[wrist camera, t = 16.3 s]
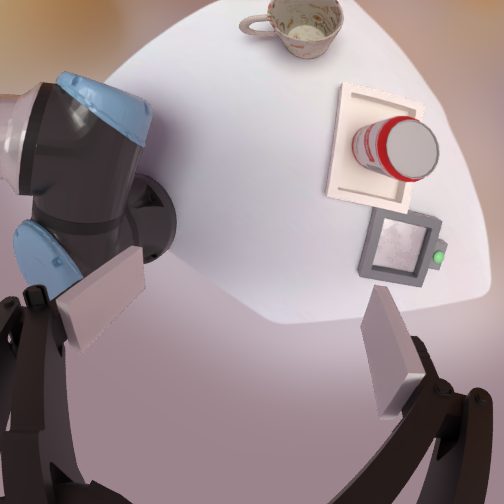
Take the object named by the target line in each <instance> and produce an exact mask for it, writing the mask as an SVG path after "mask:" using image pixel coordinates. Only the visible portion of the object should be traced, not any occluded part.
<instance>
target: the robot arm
mask: <svg viewBox="0 0 504 504" xmlns="http://www.w3.org/2000/svg"><path fill="white" fill-rule="evenodd" d="M56 82H57V84H52V83H44V82H40V83H39V84H37V85H36V86H35V87H33V88H32V89H31V90H29V91H28V92H27V93H25V94H23V95H9V94H0V179H5V180H6V181H7V182H8V183H9V184H10V186H11V187H12V189H13V190H14V192H15V193H16V194H17V195H30V196H33V207H32V217H31V219H30V220H28V219H27V220H25V221H23V222H22V223H21V224H20V225H19V226H18V228H17V229H16V230H15V233H14V238H13V246H14V253H15V257H16V260H17V263H18V266H19V269H20V271H21V273H22V275H23V277H24V279H25V280H26V282H27V284H28V285H29V287H28V288H26V289H25V290H24V291H23V296H24V300H25V303H26V306H27V307H24V306H21V304H20V301H19V299H18V298H17V297H14V296H13V297H10V296H9V297H6V298H5V299H4V300H2V301H1V302H0V453H1V461H2V476H3V486H4V494H5V496H4V497H0V504H132V503H131V502H130V501H128V500H127V499H126V498H124V497H123V496H122V495H120V494H118V493H116V492H114V491H112V490H110V489H108V488H106V487H104V486H103V485H101V484H99V483H97V482H95V481H93V480H92V481H91V483H90V484H85V481H84V479H83V477H82V475H81V473H80V471H79V469H78V467H77V463H76V458H75V453H74V448H73V442H72V435H71V429H70V421H69V412H68V403H67V390H66V367H65V346H64V342H65V341H66V340H67V339H68V341H69V344H70V347H71V348H72V349H74V350H76V351H78V352H80V353H83V352H84V351H85V350H86V349H87V348H88V347H89V345H91V344H92V343H93V341H94V340H95V339H96V338H97V337H98V336H99V335H100V334H101V333H102V332H103V331H104V330H105V329H106V328H107V327H108V326H109V325H110V324H111V323H112V321H114V319H116V318H117V316H118V315H119V314H120V313H121V312H122V311H123V310H124V309H125V308H126V307H127V306H128V305H129V304H130V303H131V302H132V301H133V300H134V299H135V298H136V297H137V296H138V295H139V294H140V293H141V292H142V291H143V290H144V289H145V279H144V267H143V264H146V263H149V262H152V261H154V260H156V259H157V258H158V257H159V256H161V255H162V254H163V253H165V252H166V251H167V250H168V248H169V247H170V245H171V244H172V242H173V239H174V236H175V232H176V214H175V210H174V206H173V203H172V201H171V199H170V197H169V195H168V194H167V192H166V191H165V190H164V188H163V187H162V186H161V185H160V184H159V183H158V182H156V181H155V180H153V179H152V178H150V177H147V176H144V175H140V174H135V172H136V169H137V166H138V162H139V159H140V156H141V154H142V151H143V148H145V146H146V142H145V141H146V137H147V134H148V130H149V127H150V124H151V121H152V117H153V111H152V108H151V106H150V104H149V103H148V102H147V101H146V100H144V99H142V98H139V97H137V96H134V95H132V94H129V93H127V92H124V91H122V90H119V89H116V88H114V87H111V86H108V85H106V84H103V83H100V82H97V81H94V80H91V79H89V78H85V77H82V76H79V75H76V74H73V73H70V72H67V71H64V72H62V73H61V74H60V76H59V77H57V79H56ZM361 331H362V335H363V340H364V344H365V348H366V353H367V357H368V362H369V367H370V372H371V377H372V382H373V387H374V393H375V399H376V404H377V411H378V417H379V419H395V418H396V417H397V415H398V414H399V413H400V411H402V415H403V419H402V420H401V421H400V422H399V424H398V425H397V426H396V428H395V429H394V430H393V431H392V433H391V435H390V436H389V437H388V439H387V440H386V441H385V442H384V444H383V445H382V446H381V448H380V449H379V450H378V451H377V452H376V453H375V455H374V456H373V457H372V458H371V460H370V461H369V462H368V463H367V464H366V465H365V466H364V468H363V469H362V470H361V471H360V472H359V473H358V474H357V475H356V476H355V477H354V478H353V479H352V480H351V482H349V483H348V484H347V485H346V486H345V487H344V489H342V490H341V491H340V492H339V493H338V494H337V495H336V496H335V497H334V498H333V499H332V500H331V501H330V502H329V503H328V504H392V502H393V501H394V500H395V498H396V497H397V496H398V494H399V493H400V492H401V490H402V489H403V488H404V486H405V485H406V483H407V482H408V480H409V479H410V477H411V476H412V474H413V473H414V471H415V470H416V468H417V467H418V465H419V463H420V461H421V460H422V458H423V457H424V455H425V453H426V452H427V450H428V448H429V446H430V445H431V443H432V441H433V439H434V437H435V438H436V442H435V446H434V450H433V454H432V458H431V461H430V465H429V469H428V472H427V475H426V478H425V481H424V484H423V487H422V490H421V493H420V496H419V498H418V501H417V504H484V502H485V497H486V492H487V486H488V480H489V472H490V463H491V453H492V438H493V402H492V398H491V396H490V394H489V393H488V392H487V391H486V390H484V389H482V388H473V389H472V390H471V391H470V392H469V394H468V395H463V394H459V393H455V392H454V389H453V387H452V386H451V384H450V383H448V382H447V381H446V380H444V379H441V378H439V376H438V374H437V372H436V369H435V367H434V365H433V362H432V360H431V359H430V355H429V353H428V352H427V349H426V347H425V345H424V343H423V342H422V341H421V340H420V339H419V338H418V337H417V336H410V334H409V332H408V330H407V328H406V325H405V323H404V321H403V319H402V317H401V315H400V312H399V310H398V308H397V306H396V304H395V302H394V300H393V298H392V296H391V294H390V292H389V290H388V288H387V287H386V286H379V285H374V287H373V291H372V294H371V297H370V300H369V303H368V306H367V309H366V312H365V315H364V318H363V321H362V323H361ZM8 335H10V337H11V341H10V343H9V342H8ZM10 411H11V427H10V430H9V431H5V430H6V426H7V422H8V419H9V415H10Z"/></svg>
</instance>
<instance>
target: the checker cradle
mask: <svg viewBox="0 0 504 504" xmlns="http://www.w3.org/2000/svg"><path fill="white" fill-rule="evenodd" d="M385 217H387V218H391V219H395V220H400V221H404V222H408V223H412V224H416V225H420V226H424V227H426V232H425V236H424V239H423V243H422V246H421V249H420V253H419V256H418V259H417V262H416V265H415V268H414V271H413V272H409V271H404V270H398V269H393V268H388V267H382V266H377V265H373V261H374V258H375V254H376V251H377V247H378V243H379V239H380V235H381V231H382V227H383V223H384V219H385ZM441 225H442V221H441V220H439V219H438V218H436V217H432V216H429V215H425V214H421V213H417V212H413V211H409V210H408V213H407V214H404V213H400V212H395V211H391V210H387V209H383V208H378V207H374V206H373V210H372V215H371V219H370V224H369V228H368V232H367V236H366V240H365V244H364V248H363V252H362V256H361V260H360V263H359V267H358V273H359V276H360V277H363V278H369V279H375V280H380V281H386V282H392V283H398V284H404V285H409V286H415V287H422V285H423V282H424V279H425V276H426V274H427V271H428V268H430V269H435V270H439V269H440V266H441V263H442V261H443V260H444V254H445V251H446V248H447V245H448V244H447V243H446V242H445V241H443V240H440V239H438V236H439V232H440V229H441Z"/></svg>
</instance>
